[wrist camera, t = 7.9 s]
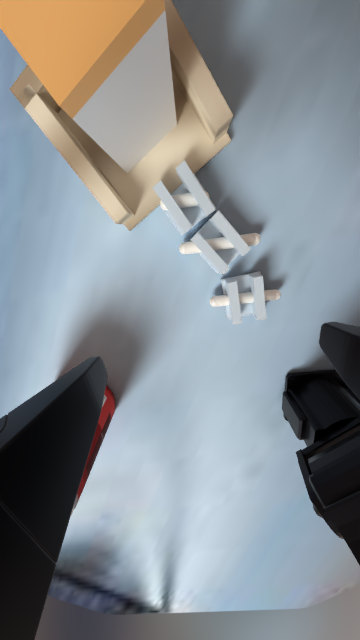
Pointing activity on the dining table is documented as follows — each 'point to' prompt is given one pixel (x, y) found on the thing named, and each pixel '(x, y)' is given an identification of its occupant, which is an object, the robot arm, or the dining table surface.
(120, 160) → the orange-topped block
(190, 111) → the holder
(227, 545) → the dining table surface
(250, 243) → the clip
